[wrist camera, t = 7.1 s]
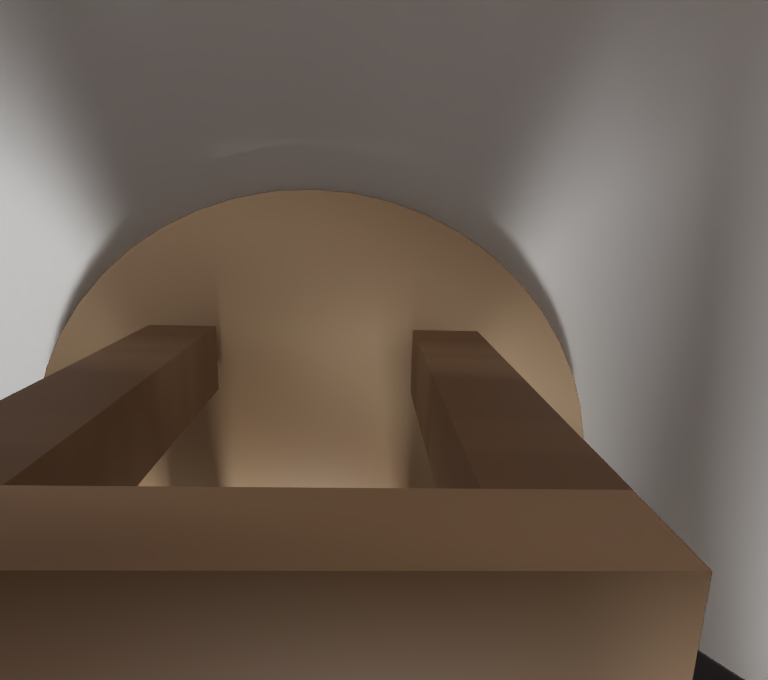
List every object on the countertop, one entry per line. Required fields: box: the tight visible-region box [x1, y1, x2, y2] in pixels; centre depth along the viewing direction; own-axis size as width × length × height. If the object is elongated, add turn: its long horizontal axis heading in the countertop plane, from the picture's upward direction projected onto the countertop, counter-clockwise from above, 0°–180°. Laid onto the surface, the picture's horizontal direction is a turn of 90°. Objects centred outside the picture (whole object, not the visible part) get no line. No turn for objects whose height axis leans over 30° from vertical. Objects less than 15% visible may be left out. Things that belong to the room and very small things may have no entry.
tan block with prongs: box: [0, 325, 712, 680], centre depth 7 cm, size 6×6×7 cm
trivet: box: [44, 190, 583, 488], centre depth 11 cm, size 11×11×1 cm
